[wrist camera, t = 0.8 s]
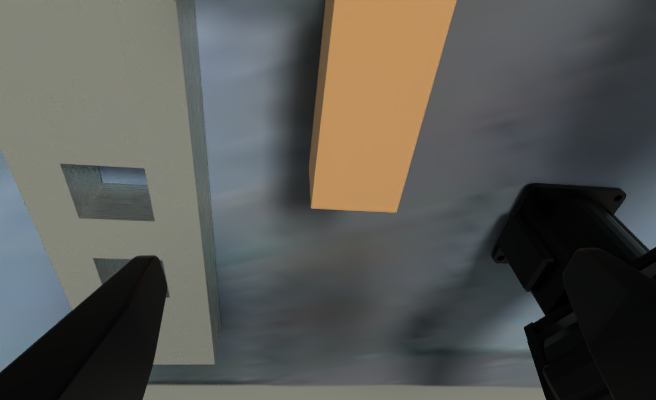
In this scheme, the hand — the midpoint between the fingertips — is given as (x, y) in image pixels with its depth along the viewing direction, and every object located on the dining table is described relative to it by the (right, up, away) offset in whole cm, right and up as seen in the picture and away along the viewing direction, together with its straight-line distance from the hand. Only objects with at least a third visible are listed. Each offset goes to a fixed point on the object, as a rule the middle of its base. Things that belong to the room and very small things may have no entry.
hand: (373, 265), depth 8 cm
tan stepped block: (0, +8, +10) cm, 13 cm away
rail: (-12, +1, +14) cm, 19 cm away
